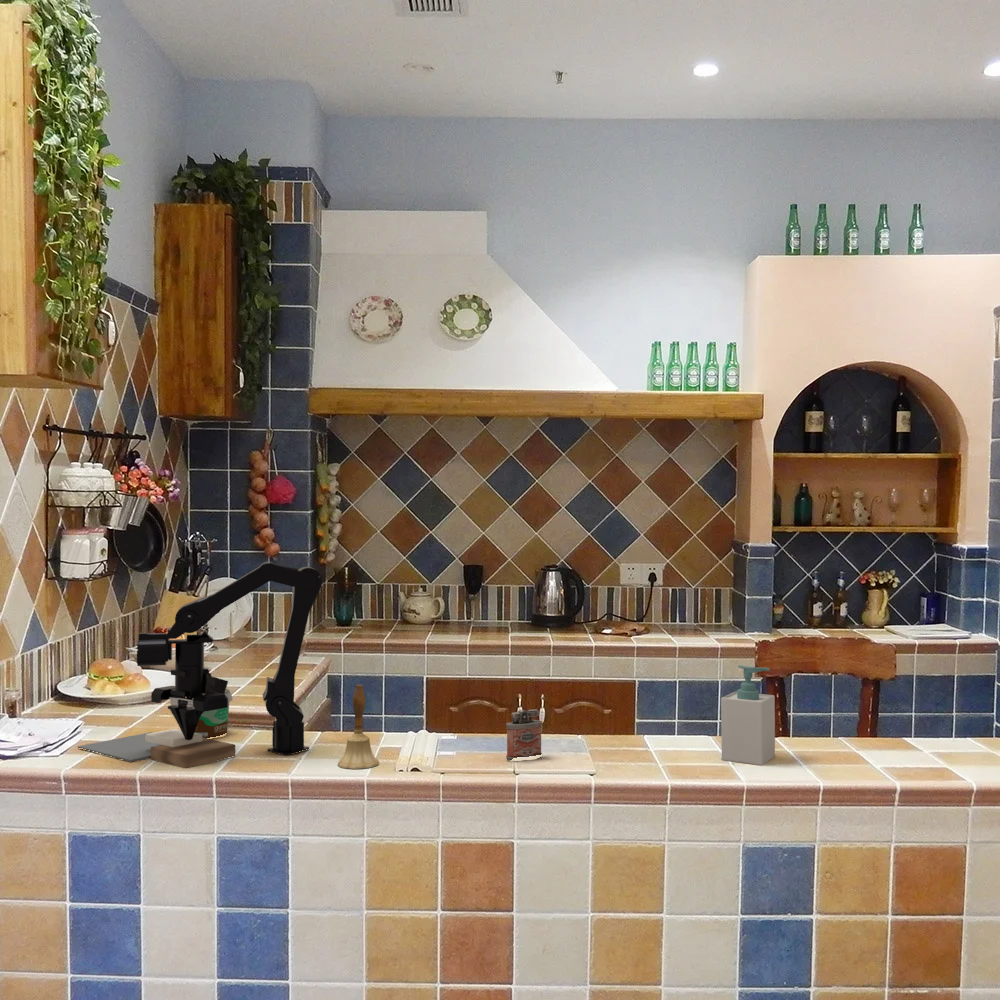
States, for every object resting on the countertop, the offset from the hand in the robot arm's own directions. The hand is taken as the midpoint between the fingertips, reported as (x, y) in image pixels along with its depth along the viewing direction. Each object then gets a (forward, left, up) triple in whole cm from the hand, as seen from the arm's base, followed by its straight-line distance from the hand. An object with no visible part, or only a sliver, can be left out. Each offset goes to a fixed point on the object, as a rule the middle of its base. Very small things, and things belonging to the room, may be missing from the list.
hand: (188, 739), depth 206 cm
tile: (+6, 0, -1) cm, 6 cm away
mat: (+16, +1, -4) cm, 16 cm away
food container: (+12, -16, -4) cm, 21 cm away
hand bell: (-32, -17, -4) cm, 37 cm away
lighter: (-56, -41, -4) cm, 70 cm away
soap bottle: (-93, -69, -4) cm, 116 cm away
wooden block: (-1, 0, -4) cm, 4 cm away
